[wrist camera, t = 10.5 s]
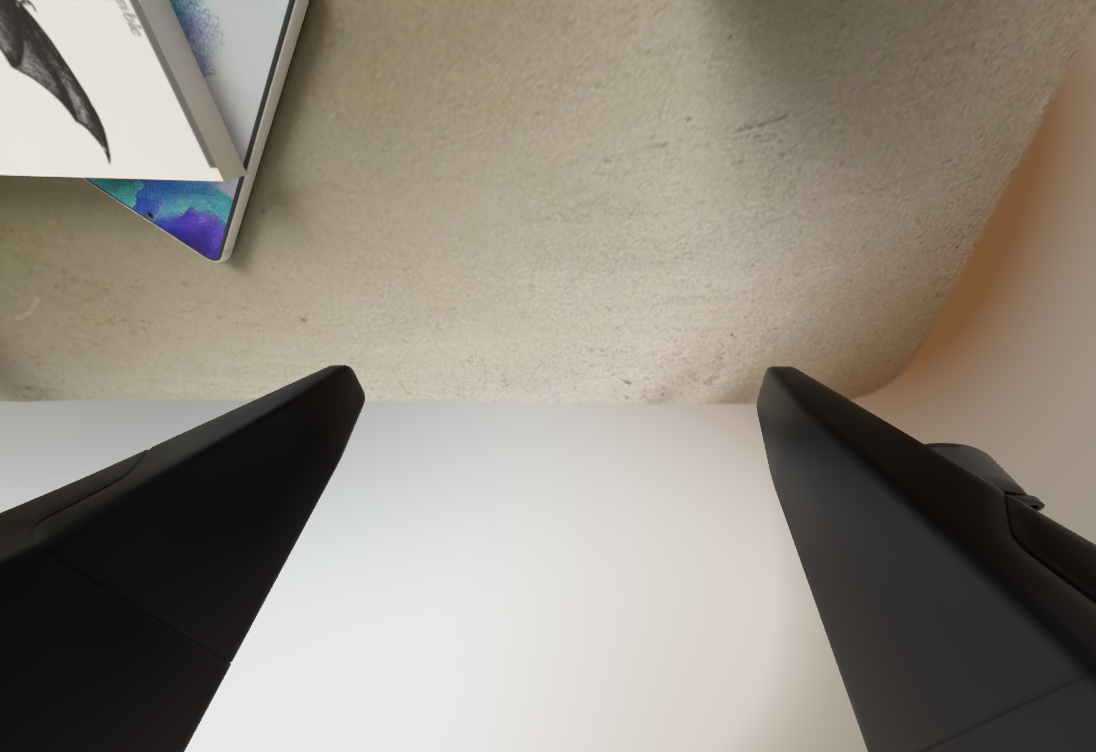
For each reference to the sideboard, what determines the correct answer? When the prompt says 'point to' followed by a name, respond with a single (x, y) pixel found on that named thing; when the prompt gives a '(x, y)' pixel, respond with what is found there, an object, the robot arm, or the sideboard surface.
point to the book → (106, 94)
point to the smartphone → (245, 107)
